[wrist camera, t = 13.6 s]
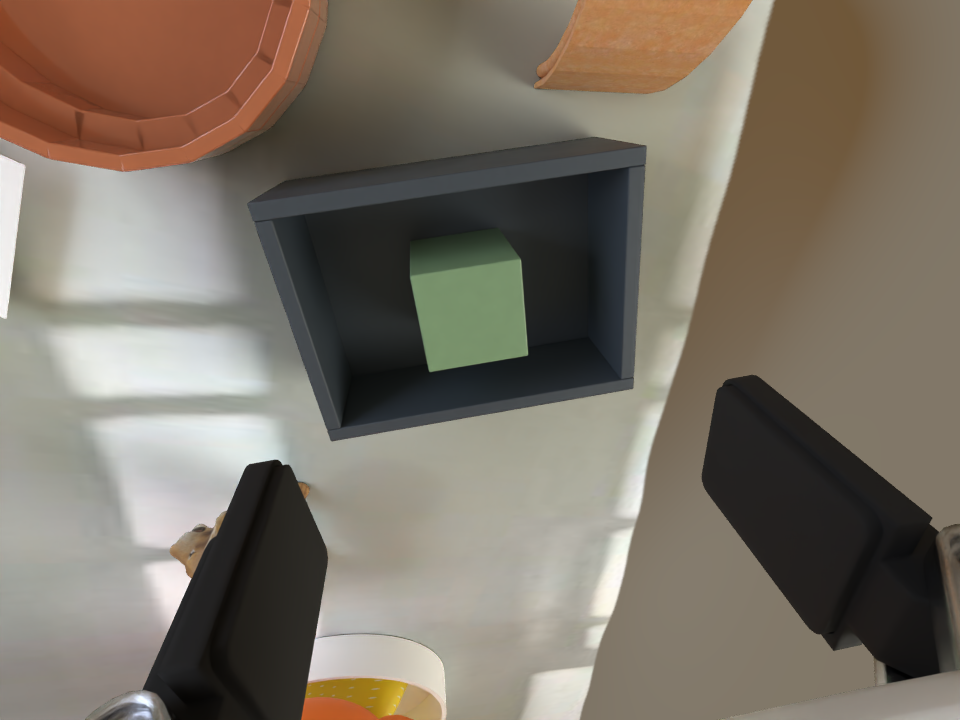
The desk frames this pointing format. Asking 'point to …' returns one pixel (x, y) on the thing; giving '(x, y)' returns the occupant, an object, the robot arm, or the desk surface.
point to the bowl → (150, 76)
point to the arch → (636, 43)
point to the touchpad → (8, 223)
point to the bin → (446, 211)
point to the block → (468, 298)
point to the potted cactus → (374, 680)
